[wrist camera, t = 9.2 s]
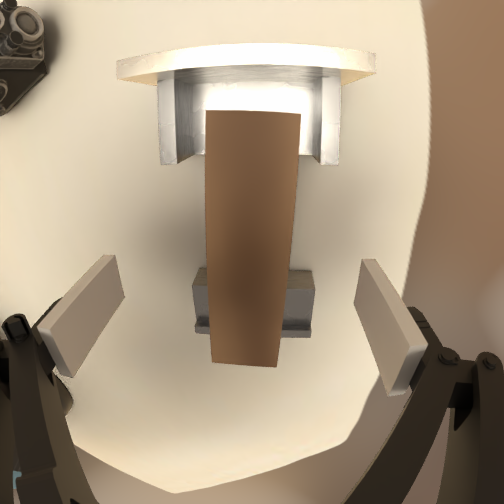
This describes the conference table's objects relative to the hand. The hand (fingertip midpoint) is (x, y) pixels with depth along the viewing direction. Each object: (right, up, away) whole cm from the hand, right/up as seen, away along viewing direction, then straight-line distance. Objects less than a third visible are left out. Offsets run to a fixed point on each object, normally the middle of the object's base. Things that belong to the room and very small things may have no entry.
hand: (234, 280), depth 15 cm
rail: (+1, +3, +6) cm, 7 cm away
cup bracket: (+1, +11, +6) cm, 13 cm away
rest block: (+1, -2, +12) cm, 13 cm away
